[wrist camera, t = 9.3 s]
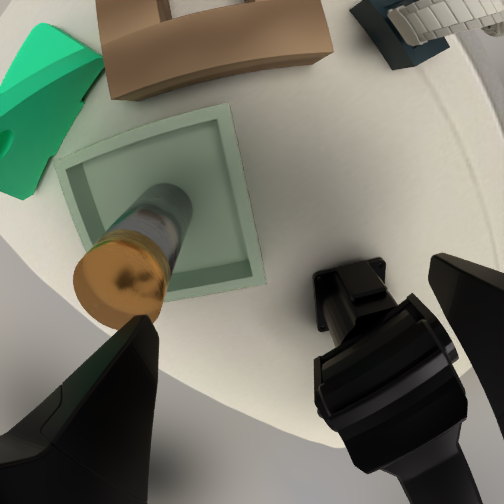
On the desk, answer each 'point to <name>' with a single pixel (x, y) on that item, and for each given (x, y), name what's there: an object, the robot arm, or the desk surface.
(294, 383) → the desk surface
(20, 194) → the camera mount
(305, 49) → the hole block
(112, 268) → the steel pin
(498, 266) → the desk surface
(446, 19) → the watch
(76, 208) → the tray
